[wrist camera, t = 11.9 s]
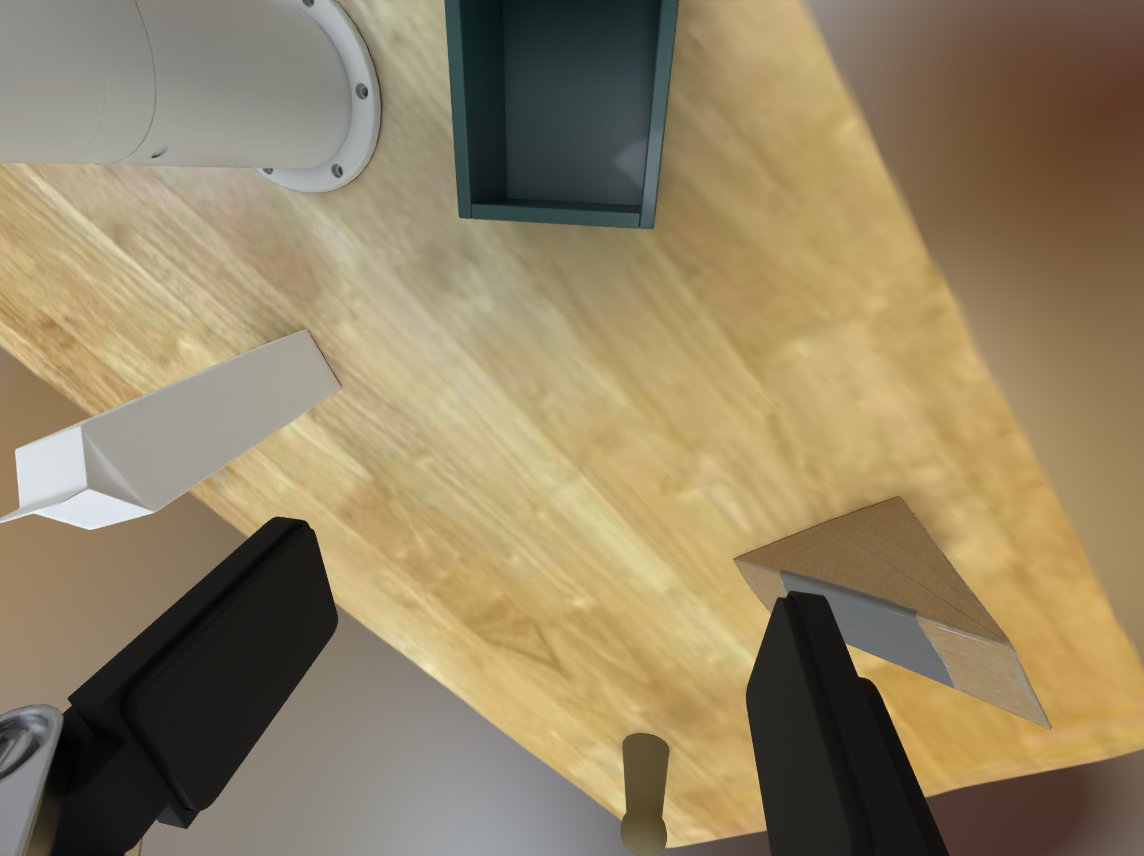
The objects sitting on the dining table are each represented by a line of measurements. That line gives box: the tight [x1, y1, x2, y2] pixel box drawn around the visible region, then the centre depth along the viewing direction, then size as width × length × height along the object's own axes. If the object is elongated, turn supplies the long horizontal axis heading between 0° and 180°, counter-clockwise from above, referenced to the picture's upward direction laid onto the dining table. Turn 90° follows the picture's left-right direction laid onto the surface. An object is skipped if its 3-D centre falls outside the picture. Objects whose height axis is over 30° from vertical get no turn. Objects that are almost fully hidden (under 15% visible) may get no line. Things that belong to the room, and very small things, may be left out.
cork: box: [621, 734, 669, 856], centre depth 58 cm, size 6×6×11 cm
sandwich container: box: [733, 497, 1052, 730], centre depth 38 cm, size 9×15×15 cm, turn 126°
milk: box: [0, 329, 341, 530], centre depth 34 cm, size 6×6×22 cm
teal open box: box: [445, 0, 679, 229], centre depth 27 cm, size 14×11×8 cm
